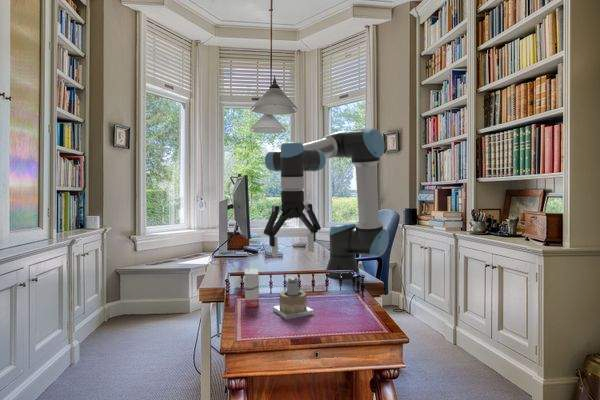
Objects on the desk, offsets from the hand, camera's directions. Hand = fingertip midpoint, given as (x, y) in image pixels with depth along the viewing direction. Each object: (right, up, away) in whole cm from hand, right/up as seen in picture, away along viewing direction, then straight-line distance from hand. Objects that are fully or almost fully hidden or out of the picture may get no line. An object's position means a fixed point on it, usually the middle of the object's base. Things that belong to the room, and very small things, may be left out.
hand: (293, 253), depth 142 cm
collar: (0, -18, +1) cm, 18 cm away
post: (0, -20, +1) cm, 20 cm away
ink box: (-15, -19, +11) cm, 27 cm away
